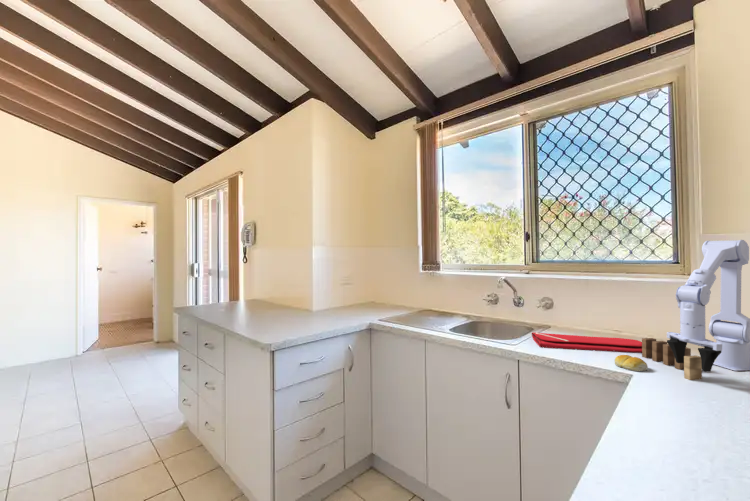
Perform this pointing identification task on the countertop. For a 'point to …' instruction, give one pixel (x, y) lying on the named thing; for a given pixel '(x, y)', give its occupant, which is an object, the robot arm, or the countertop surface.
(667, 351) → the domino
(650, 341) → the domino
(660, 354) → the domino
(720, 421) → the countertop surface
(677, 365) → the domino
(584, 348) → the dish drying mat
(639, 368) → the bread roll
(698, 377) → the domino
